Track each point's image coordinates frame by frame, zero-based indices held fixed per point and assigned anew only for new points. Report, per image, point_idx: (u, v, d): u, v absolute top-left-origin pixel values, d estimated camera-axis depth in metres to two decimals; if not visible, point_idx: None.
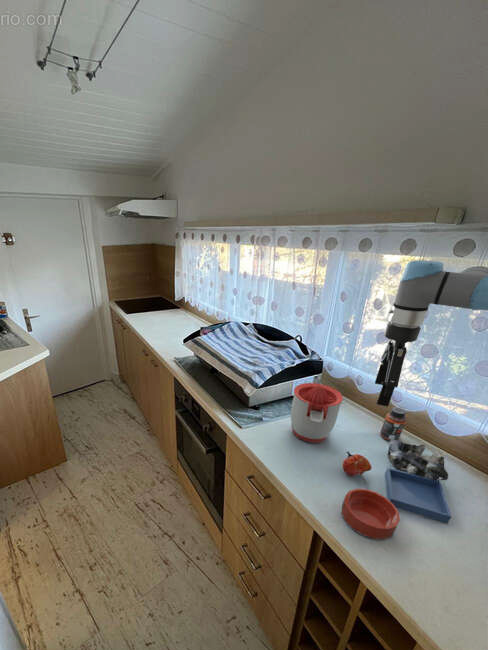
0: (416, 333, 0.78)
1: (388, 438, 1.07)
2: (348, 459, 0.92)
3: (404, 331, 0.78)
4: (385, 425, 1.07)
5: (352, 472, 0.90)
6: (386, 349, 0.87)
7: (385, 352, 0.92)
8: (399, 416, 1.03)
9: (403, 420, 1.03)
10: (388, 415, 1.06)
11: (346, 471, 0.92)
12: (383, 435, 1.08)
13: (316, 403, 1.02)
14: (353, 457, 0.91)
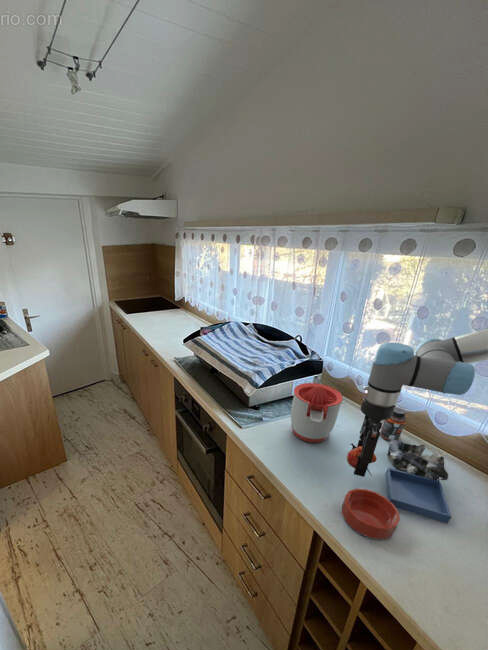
0: (390, 412, 0.79)
1: (388, 438, 1.07)
2: (352, 451, 0.90)
3: (378, 410, 0.78)
4: (385, 425, 1.07)
5: None
6: (363, 422, 0.87)
7: (363, 426, 0.92)
8: (399, 416, 1.03)
9: (403, 420, 1.03)
10: None
11: (351, 463, 0.90)
12: (383, 435, 1.08)
13: (316, 403, 1.02)
14: (357, 449, 0.89)
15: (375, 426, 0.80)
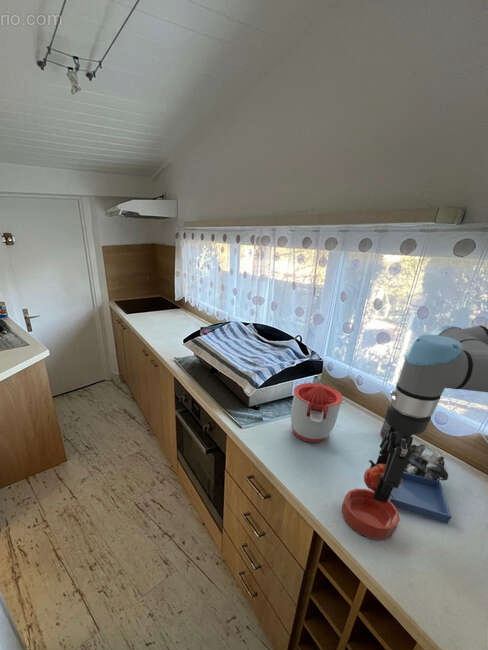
0: (425, 424, 0.61)
1: None
2: (372, 470, 0.73)
3: (410, 422, 0.61)
4: (385, 425, 1.07)
5: None
6: (387, 435, 0.70)
7: (385, 439, 0.74)
8: None
9: None
10: None
11: (369, 485, 0.73)
12: (383, 435, 1.08)
13: (316, 403, 1.02)
14: (378, 467, 0.72)
15: (405, 442, 0.63)
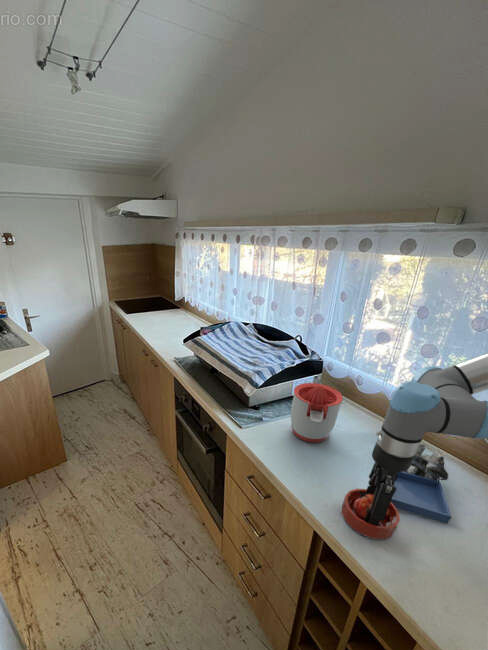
0: (409, 463, 0.66)
1: None
2: (361, 500, 0.78)
3: (394, 461, 0.66)
4: None
5: None
6: (374, 469, 0.75)
7: (373, 471, 0.79)
8: None
9: None
10: None
11: (358, 514, 0.77)
12: None
13: (316, 403, 1.02)
14: (367, 498, 0.77)
15: (390, 479, 0.68)
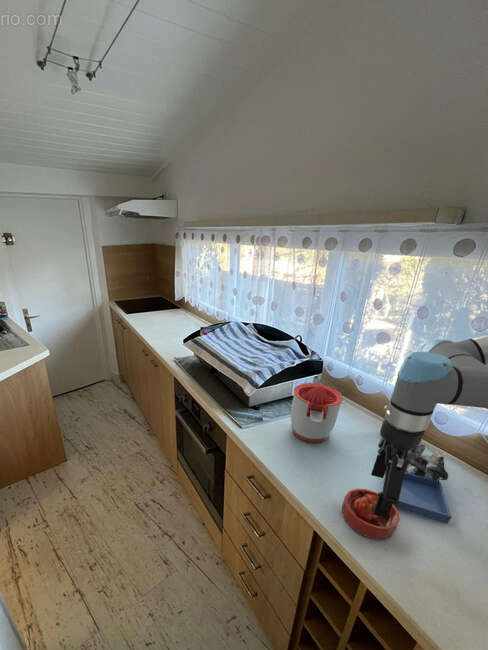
0: (419, 438, 0.63)
1: None
2: (361, 500, 0.78)
3: (404, 436, 0.63)
4: None
5: (366, 517, 0.75)
6: (383, 444, 0.72)
7: (382, 442, 0.77)
8: None
9: None
10: None
11: (358, 514, 0.77)
12: None
13: (316, 403, 1.02)
14: (367, 498, 0.77)
15: None
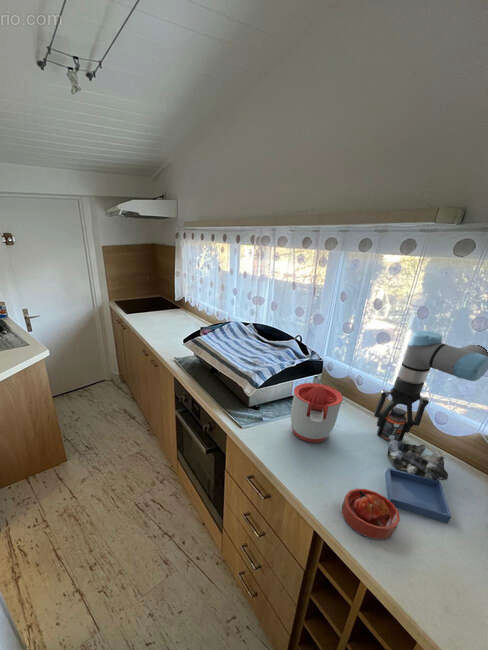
0: (401, 385, 0.98)
1: (388, 438, 1.07)
2: (361, 500, 0.78)
3: (396, 379, 1.01)
4: (385, 425, 1.07)
5: (366, 517, 0.75)
6: None
7: (416, 413, 1.03)
8: (399, 416, 1.03)
9: (403, 419, 1.03)
10: (388, 415, 1.06)
11: (358, 514, 0.77)
12: (383, 435, 1.08)
13: (316, 403, 1.02)
14: (367, 498, 0.77)
15: (390, 391, 1.03)
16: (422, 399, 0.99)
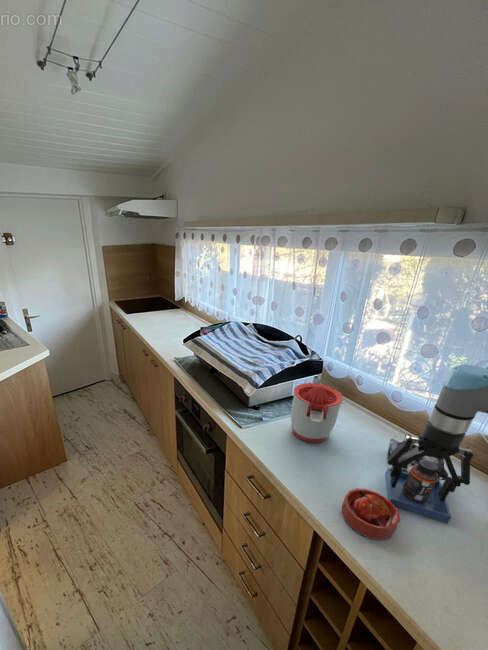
0: (434, 434, 0.74)
1: (414, 498, 0.83)
2: (361, 500, 0.78)
3: (426, 425, 0.77)
4: (410, 482, 0.83)
5: (366, 517, 0.75)
6: None
7: (461, 467, 0.78)
8: (430, 473, 0.79)
9: (435, 477, 0.79)
10: (414, 469, 0.82)
11: (358, 514, 0.77)
12: (407, 494, 0.84)
13: (316, 403, 1.02)
14: (367, 498, 0.77)
15: (418, 440, 0.79)
16: (463, 451, 0.75)
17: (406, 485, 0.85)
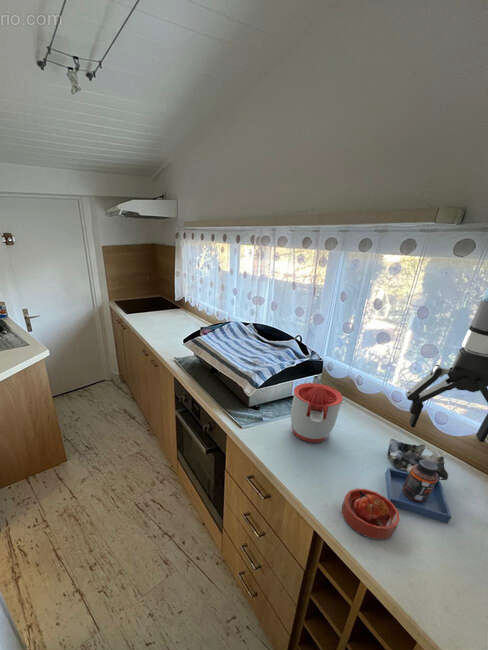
0: (469, 360, 0.65)
1: (414, 498, 0.83)
2: (361, 500, 0.78)
3: (459, 352, 0.67)
4: (410, 482, 0.83)
5: (366, 517, 0.75)
6: None
7: None
8: (430, 473, 0.79)
9: (435, 477, 0.79)
10: (414, 469, 0.82)
11: (358, 514, 0.77)
12: (407, 494, 0.84)
13: (316, 403, 1.02)
14: (367, 498, 0.77)
15: (448, 371, 0.69)
16: None
17: (406, 485, 0.85)
